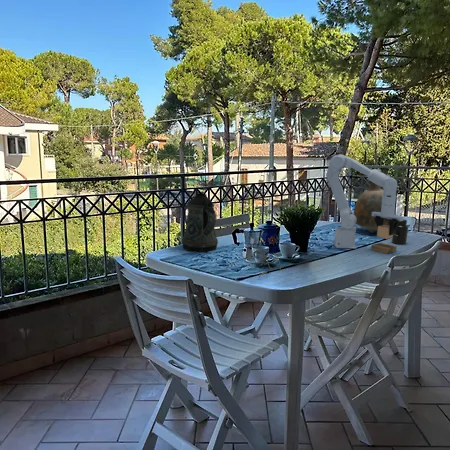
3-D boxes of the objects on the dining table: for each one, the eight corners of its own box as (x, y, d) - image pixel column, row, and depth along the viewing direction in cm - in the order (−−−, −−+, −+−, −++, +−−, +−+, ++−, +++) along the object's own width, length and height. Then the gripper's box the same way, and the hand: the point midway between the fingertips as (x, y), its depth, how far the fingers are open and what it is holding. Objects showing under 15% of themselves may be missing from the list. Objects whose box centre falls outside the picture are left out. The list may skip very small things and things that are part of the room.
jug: (399, 232, 239) (405, 178, 232) (391, 239, 221) (397, 181, 215) (355, 226, 251) (359, 175, 245) (344, 232, 233) (349, 178, 227)
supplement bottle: (390, 243, 213) (393, 219, 210) (392, 240, 218) (395, 217, 216) (405, 245, 209) (408, 221, 207) (407, 242, 215) (409, 219, 213)
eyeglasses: (282, 271, 166) (282, 259, 165) (259, 281, 155) (259, 268, 154) (250, 263, 176) (250, 251, 175) (226, 271, 165) (226, 258, 164)
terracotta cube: (386, 238, 193) (387, 228, 192) (376, 236, 197) (377, 226, 196) (392, 237, 197) (393, 226, 196) (382, 235, 200) (383, 224, 199)
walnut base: (386, 255, 193) (387, 248, 192) (370, 251, 199) (371, 244, 198) (395, 252, 198) (396, 246, 197) (380, 248, 204) (380, 242, 203)
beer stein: (195, 241, 208) (195, 190, 202) (229, 247, 198) (231, 194, 193) (174, 248, 194) (174, 194, 189) (210, 255, 184) (211, 198, 179)
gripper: (408, 206, 191) (404, 235, 194) (378, 201, 202) (375, 229, 205) (399, 207, 186) (396, 237, 189) (370, 203, 197) (367, 231, 200)
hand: (385, 233), depth 197 cm, fingers closed on terracotta cube, 5 cm apart
